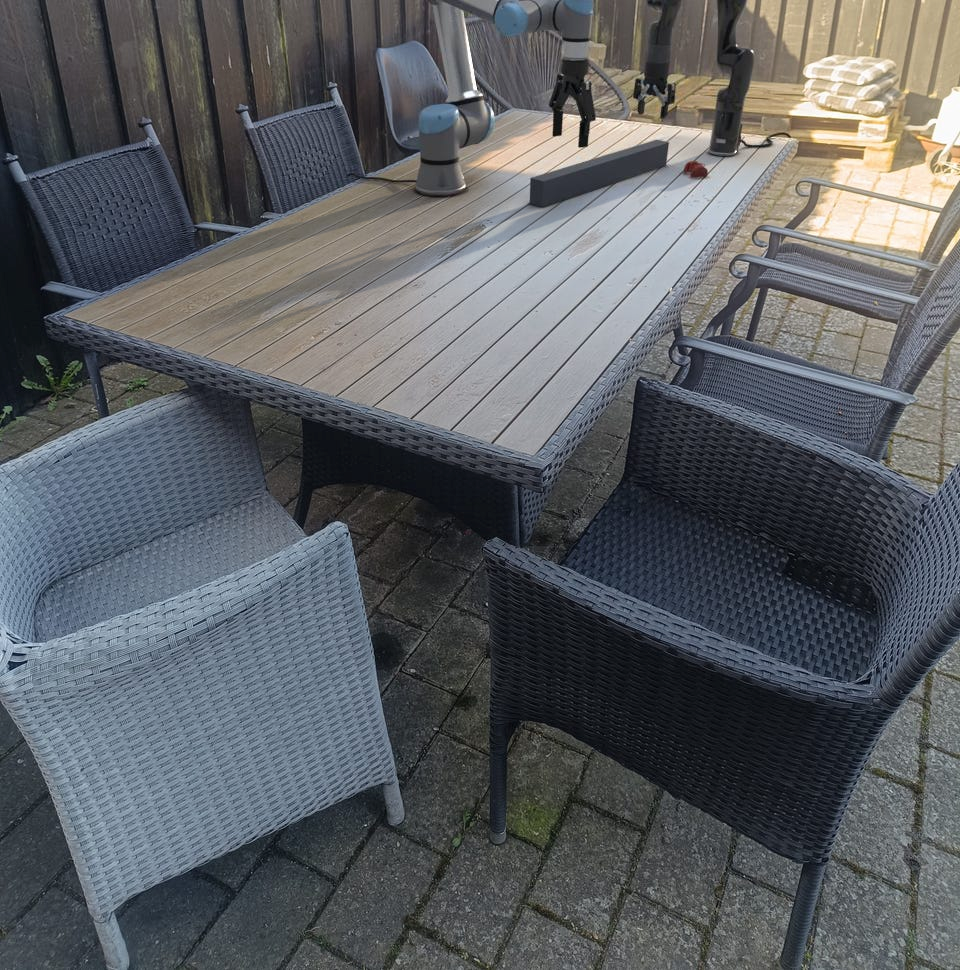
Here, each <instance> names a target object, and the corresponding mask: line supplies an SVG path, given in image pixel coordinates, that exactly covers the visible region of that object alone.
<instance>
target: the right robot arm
mask: <svg viewBox="0 0 960 970" xmlns="http://www.w3.org/2000/svg"><path fill="white" fill-rule="evenodd" d="M682 2H683V0H646V4H647V6H648V9H650V10H652V11H654V12H660V13H661V14H660V16H659V19H658V20H655V21H653V22H651V23H650V25H649V29H648V38H647V39H648V40H647V47H646V52H645V61H644V68H643V69H644V70H643V76H644V78H643V77H641V76H640V77H636V78H635V80H634V86H633V93H632V98H633V100H635V99H636V101H637V110H636V111H637V114H638V115H644V113H645V108H646V107H645V106H646V101H645V100H646V98H647V97H649V96H653V97H656V98H657V99H658V100H659V101H660V103H661V107H660V114H659V115H660V116H659V118H660V119H661V120H662V119H666V118H667V116H668V112H669V106H670V105H674V104H675V101H676V90H677V89H676V88H677V83H676V82H668V79H669V74H670V66H671V58H672V40H673V32H674V28H675V24H676V22H677V19H678V16H679V13H680V10H681V8H682ZM747 2H748V0H716V7H717V47H716V67H717V70H718V73H719V74H720V75H722V76H724V77H728V78H730V79H729V83H728V85H727V86H726V87H723V88H720V89H719V90H718V91H717V95H716V100H715V101H716V102H715V110H714V115H713V121H712V128H711V134H710V141H709V147H708V150H707V151H708V153H709V154H710V155H712V156H717V157H731V156H735V155H736V154H738V153H739V148H740V146H741V143H742V144H743V146H745V147H747V148H765V147H769V146H772V145H773V143H774V142H773V141H772V140H771V138H774V137H777V136H786V137H787V138H788V139H789V138H792V136H791V134H790V133H787V132H784V131H783V132H776V133H773V134H770V135H768V136H766V138H765V140H766V141H767V142H768V143H764V144H763V143H762V144H748V143H747V142H746V141H745V140H743V139H742V136H741V135H742V130H743V123H742V119H743V113H744V108H745V101H746V96H747V94H748V92H749V91H750V88H751V87H750V86H751V82H752V78H753V72H754V68H755V61H756V57H755V52H754V51H753V50H752V49H751V48H749V47H745V46H739V45H738V43H737V42H738V41H737V40H738V39H737V29H738V25H739V22H740V20H741V17H742V15H743V13H744V12H745V8H746V6H747ZM643 87H644V88H643ZM642 88H643V90H642Z"/></svg>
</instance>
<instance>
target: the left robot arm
mask: <svg viewBox="0 0 960 970" xmlns="http://www.w3.org/2000/svg"><path fill="white" fill-rule="evenodd" d="M425 1H426V2H427V3H428V4H430V5H431V6H432V7H431V8H432V12H433V17H434V22H435V28H436V33H437V38H438V43H439V50H440V55H441V60H442V66H443V70H444V76H445V81H446V82H445V83H446V86H447V92H448V95H447V98H446V100H445V101H444V103H439V104H431V105H428V106H426V107H424V108H423V109H422V110H421V111H420V112H419V114H418V115H419V116H418V126H417V127H418V137H419V138H418V139H419V157H420V158H419V159H420V161H419V162H420V164H419V168H418V172H417V176H416V179H390V178H385V177H380V176H379V177H378V176H361V175H359V174H357V173H355V172H349V173H347V175H346V177H351V176H354V177H356V178H358V179H360V180H361V179H362V180H375V181H376V180H377V181H385V182H390V183H395V184H396V183H397V184H400V183H414V184H415V185H414V186H415V192H417V193H418V194H420V195H424V196H430V197H450V196H455V195H459V194H461V193H463V192H464V191H466V181H465V177H464V174H463V172H462V169H461V165H460V149H463V148H467V147H470V146H474V145H475V146H476V145H479V144H480V143H482V142H485V141H486V140H488V139H489V138H490V136H491V135H492V133H493V131H494V128H495V120H496V119H495V114H494V110H493V108H492V107H491V106H490V104H489V103H488V102H487V101H485V99H484V95H483V93H482V92H481V91H480V90H479V89H477V83H476V77H475V72H474V66H473V60H472V55H471V49H470V43H469V38H468V37H469V36H468V31H467V25H466V24H467V23H466V19H465V13H467V14H469V15H471V16H474V17H476V18H478V19H480V20H482V21H484V22H486V23H489V24H491V25H493V26H495V28H496V30H497V32H498V33H499V34H500V35H502V36H503V37H513V38H515V37H518V36H521V35H526V34H530V33H536V32H542V31H552V32H553V31H554V32H561V33H562V39H561V49H560V50H561V51H560V56H561V57H562V58H561V59H560V69H559V71H560V73H557V74H556V77H555V78H556V79H555V84H554V87H553V90H552V94H551V98H550V100H549V103H548V107H549V108H551V111H552V112H553V113H552V114H553V115H552V133H551V134H552V136H551V137H554V138H555V137H562V136H563V119H564V106H565V104H566V102H567V101H568V99H569V97H571V98H572V99H573V100H574V102H575V103H576V107H577V110H578V113H579V116H580V119H581V120H580V121H579V128H578V144H577V148H578V149H581V148H587V147H588V146H589V138H590V137H589V136H590V131H591V129H590V127H591V123H592V122H595V121H596V120H597V116H596V111H595V105H594V99H593V93H592V81H585V76H587V75H588V74H589V68H590V67H589V66H590V60H589V59H588V58H590V51H591V49H590V48H591V37H592V34H591V33H592V24H593V23H592V22H593V14H594V0H425ZM464 12H465V13H464Z"/></svg>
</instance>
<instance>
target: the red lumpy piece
mask: <svg viewBox="0 0 960 970" xmlns="http://www.w3.org/2000/svg"><path fill="white" fill-rule="evenodd" d="M689 173H690V174H689ZM708 173H709V171H708V168H707V167H706V164H704V163H702V162H699V161H697V160H690V161H687V163H685V165H684V167H683V174H689V176H690V178H702V177H705V178H706V177H708Z"/></svg>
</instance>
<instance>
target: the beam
mask: <svg viewBox="0 0 960 970" xmlns="http://www.w3.org/2000/svg"><path fill="white" fill-rule="evenodd" d="M669 145H670V142H669V141H665V140H660V139H654V140H649V141H647V142H644V143H640V144H637V145H634V146H631V147H628V148H625V149H621V150H617V151H614V152H611V153H608V154H604V155H601V156H598V157H594V158H592V159H588V160H585V161H581V162H578V163H575V164H572V165H569V166H564V167H561V168H559V169H555V170H551V171H549V172H546V173H542V174H538V175H535V176H533V177H532V176H531V177H530V179H529V181H530V182H529V204H530V205H533V206H536V207H539V208H545V207H548V206H550V205H553V204H557V203H559V202H562V201H565V200H568V199H571V198H574V197H578V196H580V195H583V194H587V193H589V192H592V191H595V190H598V189H601V188H604V187H606V186H610V185H613V184H616V183H619V182H622V181H624V180H627V179H630V178H634V177H637V176H639V175H642V174H645V173H647V172H651V171H654V170H657V169H660V168H663V167H666V166H667V162H668V155H669V147H670V146H669Z"/></svg>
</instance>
